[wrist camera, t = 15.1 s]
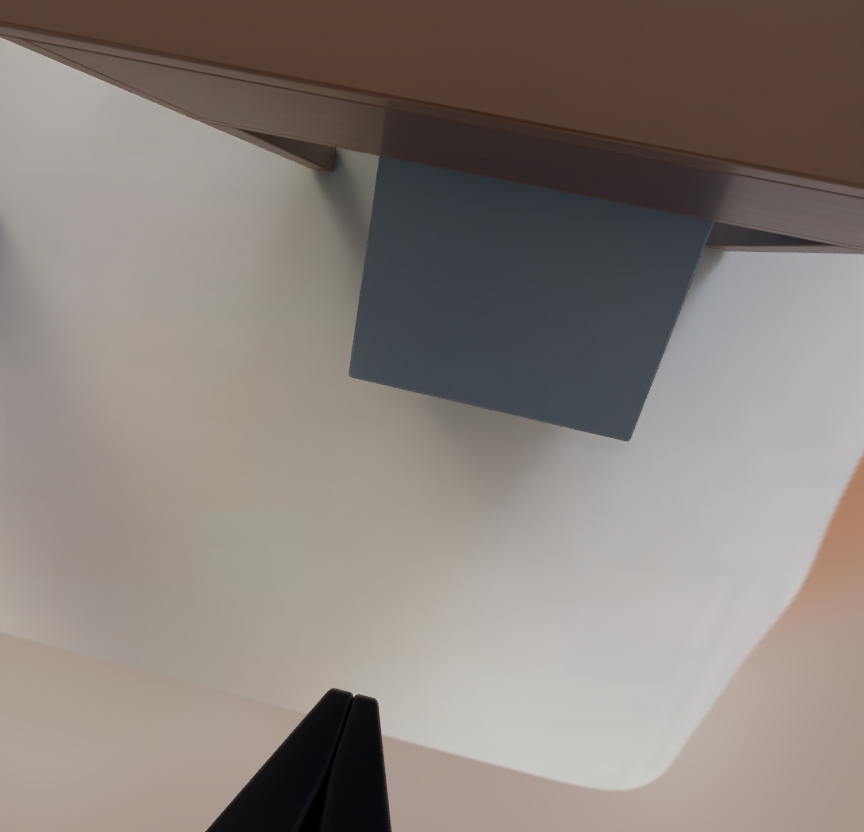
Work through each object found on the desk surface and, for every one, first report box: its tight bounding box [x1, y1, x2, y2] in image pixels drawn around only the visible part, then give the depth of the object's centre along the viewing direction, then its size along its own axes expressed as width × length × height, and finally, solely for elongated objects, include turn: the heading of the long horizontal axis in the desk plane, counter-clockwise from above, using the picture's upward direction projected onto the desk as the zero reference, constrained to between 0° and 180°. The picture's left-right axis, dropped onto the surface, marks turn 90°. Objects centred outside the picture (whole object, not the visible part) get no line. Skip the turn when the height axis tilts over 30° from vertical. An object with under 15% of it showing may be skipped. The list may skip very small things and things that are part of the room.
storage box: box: [349, 156, 715, 441], centre depth 11 cm, size 14×7×5 cm, turn 169°
